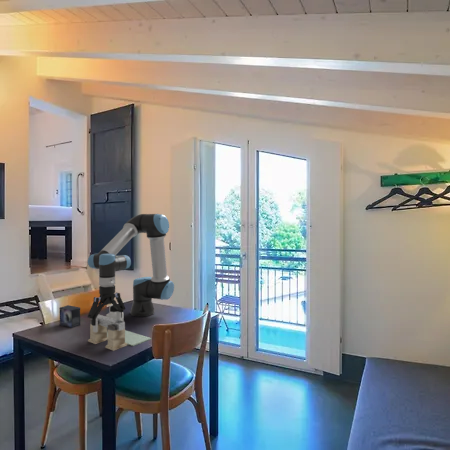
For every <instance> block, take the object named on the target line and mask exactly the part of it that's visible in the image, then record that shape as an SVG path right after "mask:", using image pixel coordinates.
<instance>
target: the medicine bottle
mask: <svg viewBox="0 0 450 450" xmlns="http://www.w3.org/2000/svg"><path fill="white" fill-rule="evenodd" d="M117 304H118V303H117ZM118 305H119V304H118ZM108 310H109V312H108V313H107V314H105V316H106V317H110V318H113V319H116V312H117V311H118V310H117V309H116V308H115V307H114V306H113V305H112V304H109V309H108ZM124 316H125V315H124V311H123V312H122V318H121V321H124V322H125V320H124V319H125V318H124Z"/></svg>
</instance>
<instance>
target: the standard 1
mask: <svg viewBox="0 0 450 450" xmlns="http://www.w3.org/2000/svg"><path fill="white" fill-rule="evenodd" d="M89 323H90V324H89V327H90V328H89V339H88V340H87V342H89V343H91V344H94V345H96V344H100V343H103V342H106V341H108V337H107V332H108V327H104V326H101V325H98V332H97V333H96V332H93V325H92V320H91V319H90V320H89Z"/></svg>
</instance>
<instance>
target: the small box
mask: <svg viewBox="0 0 450 450" xmlns="http://www.w3.org/2000/svg"><path fill="white" fill-rule="evenodd" d="M58 308H59V309H58V310H59V326H61V327H66V328H70V329H74V328H77V327H80V326H81V307H79V306H75V305H71V304H70V305H69V304H68V305H63V306H62V307H58Z"/></svg>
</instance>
